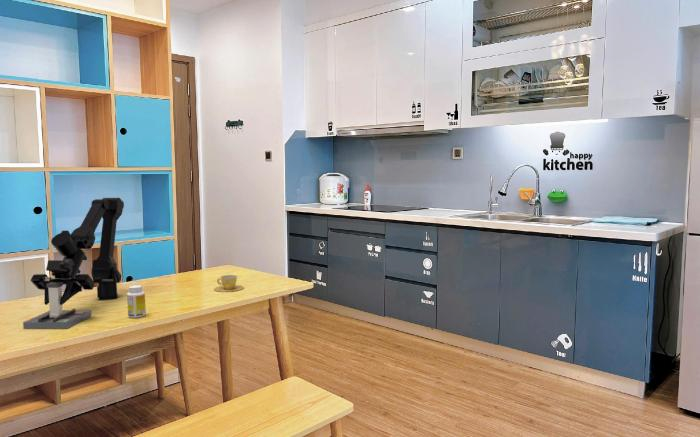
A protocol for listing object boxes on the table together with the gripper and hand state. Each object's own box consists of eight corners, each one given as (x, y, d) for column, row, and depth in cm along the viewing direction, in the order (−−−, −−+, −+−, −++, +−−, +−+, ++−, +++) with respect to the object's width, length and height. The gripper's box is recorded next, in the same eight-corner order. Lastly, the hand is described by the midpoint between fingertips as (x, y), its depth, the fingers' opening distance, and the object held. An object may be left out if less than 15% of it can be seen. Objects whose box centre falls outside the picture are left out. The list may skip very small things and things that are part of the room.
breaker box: (51, 315, 174) (50, 307, 174) (91, 316, 173) (91, 307, 173) (23, 328, 160) (22, 319, 160) (67, 328, 159) (66, 319, 159)
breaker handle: (54, 314, 167) (51, 281, 166) (64, 314, 167) (62, 281, 166) (48, 317, 164) (46, 284, 163) (59, 317, 164) (57, 284, 163)
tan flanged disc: (247, 286, 218) (247, 273, 217) (238, 293, 206) (238, 279, 205) (220, 285, 219) (219, 273, 218) (209, 292, 207) (209, 279, 206)
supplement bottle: (147, 313, 176) (146, 284, 175) (143, 318, 171) (141, 288, 170) (131, 314, 176) (129, 284, 175) (125, 318, 170) (124, 288, 169)
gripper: (32, 250, 168) (11, 291, 158) (87, 249, 167) (70, 291, 157) (48, 269, 176) (29, 309, 166) (101, 269, 176) (85, 309, 166)
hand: (53, 304), depth 164 cm, fingers open, 5 cm apart
